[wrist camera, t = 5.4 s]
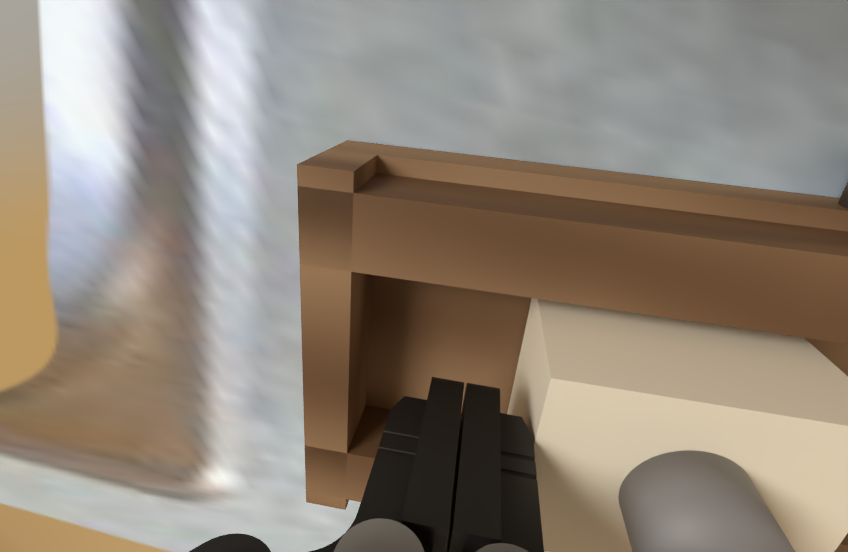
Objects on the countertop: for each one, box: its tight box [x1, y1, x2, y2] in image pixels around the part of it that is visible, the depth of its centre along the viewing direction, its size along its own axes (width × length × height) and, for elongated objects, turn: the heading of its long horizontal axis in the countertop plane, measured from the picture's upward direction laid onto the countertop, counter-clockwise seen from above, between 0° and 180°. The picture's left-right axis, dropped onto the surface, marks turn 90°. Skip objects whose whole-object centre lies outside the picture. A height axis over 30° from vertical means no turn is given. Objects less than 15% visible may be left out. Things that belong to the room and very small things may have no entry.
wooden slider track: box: [297, 140, 848, 552], centre depth 12 cm, size 12×26×4 cm, turn 85°
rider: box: [507, 298, 848, 552], centre depth 10 cm, size 4×6×6 cm
